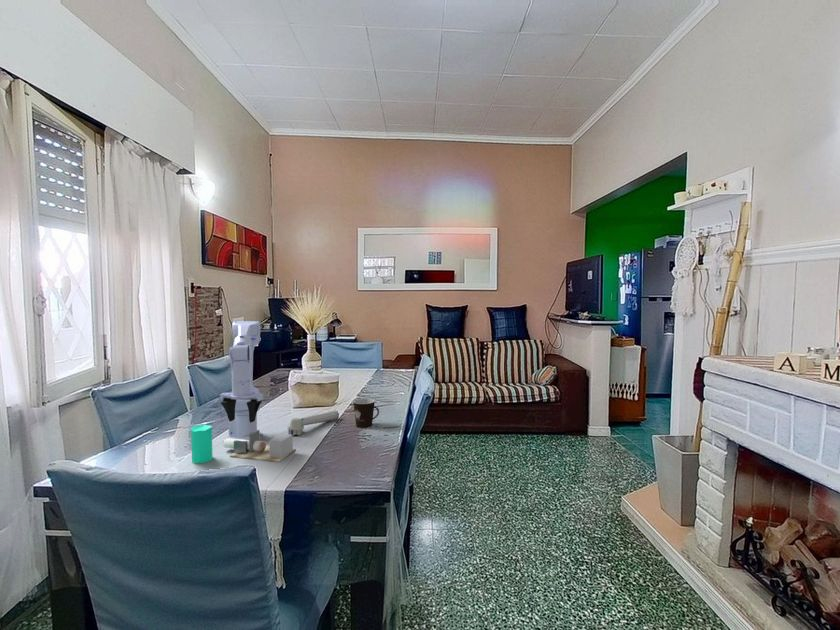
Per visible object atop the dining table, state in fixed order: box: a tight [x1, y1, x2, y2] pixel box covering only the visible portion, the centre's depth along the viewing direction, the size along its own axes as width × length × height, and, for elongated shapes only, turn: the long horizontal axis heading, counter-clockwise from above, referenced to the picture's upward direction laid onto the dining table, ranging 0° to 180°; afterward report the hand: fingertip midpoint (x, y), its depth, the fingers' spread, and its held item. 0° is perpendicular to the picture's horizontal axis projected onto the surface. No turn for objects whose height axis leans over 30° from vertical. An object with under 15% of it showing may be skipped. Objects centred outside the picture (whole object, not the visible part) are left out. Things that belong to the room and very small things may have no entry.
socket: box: [269, 433, 294, 458], centre depth 134 cm, size 4×6×6 cm
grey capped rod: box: [287, 410, 340, 436], centre depth 163 cm, size 5×7×25 cm
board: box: [229, 445, 297, 463], centre depth 136 cm, size 18×10×1 cm, turn 76°
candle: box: [190, 422, 214, 464], centre depth 130 cm, size 6×6×12 cm
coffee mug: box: [352, 397, 380, 429], centre depth 163 cm, size 12×9×10 cm
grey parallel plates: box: [233, 435, 249, 454], centre depth 137 cm, size 4×6×4 cm
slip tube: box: [223, 429, 267, 452], centre depth 137 cm, size 14×4×6 cm, turn 76°
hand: (242, 421), depth 137 cm, fingers open, 7 cm apart
